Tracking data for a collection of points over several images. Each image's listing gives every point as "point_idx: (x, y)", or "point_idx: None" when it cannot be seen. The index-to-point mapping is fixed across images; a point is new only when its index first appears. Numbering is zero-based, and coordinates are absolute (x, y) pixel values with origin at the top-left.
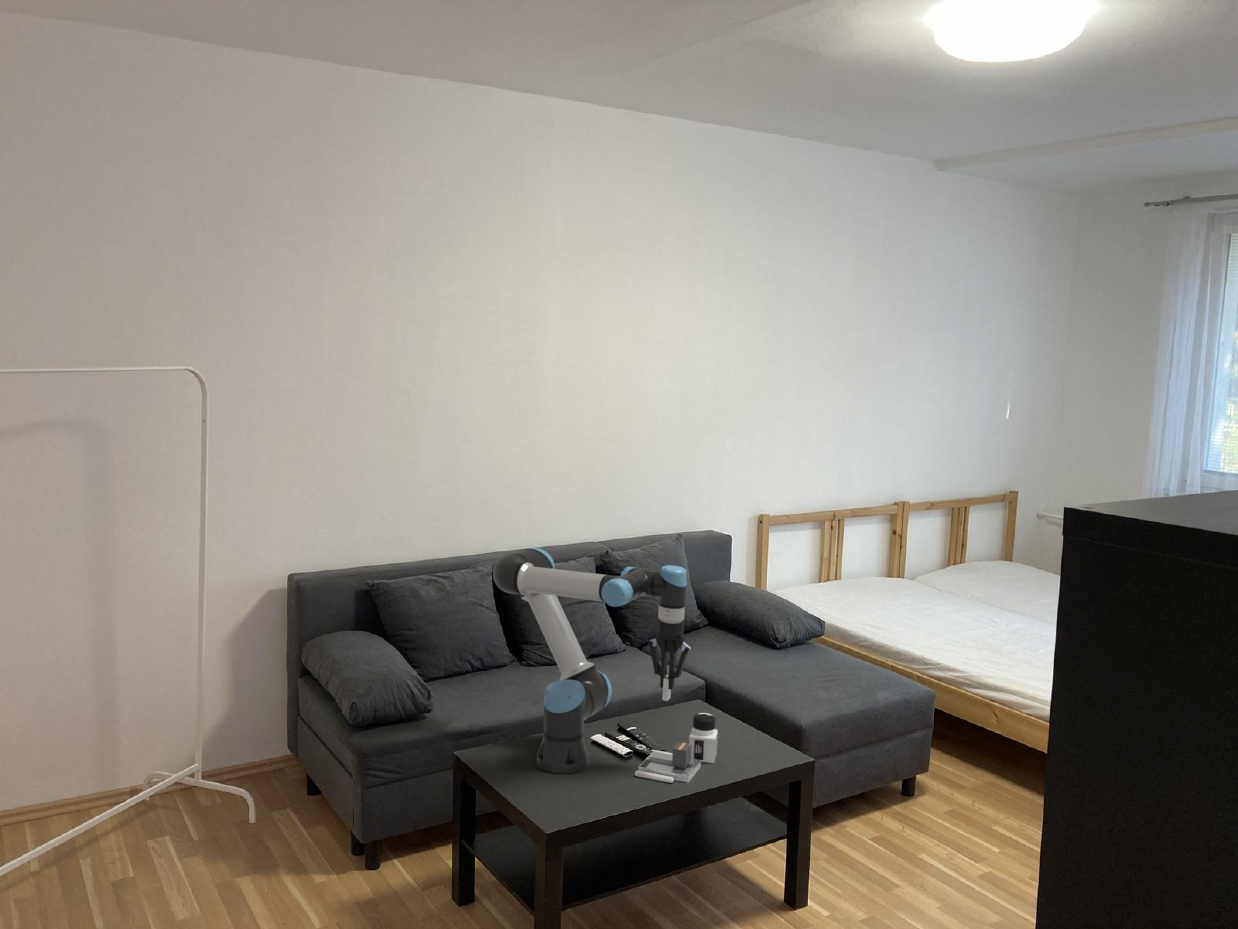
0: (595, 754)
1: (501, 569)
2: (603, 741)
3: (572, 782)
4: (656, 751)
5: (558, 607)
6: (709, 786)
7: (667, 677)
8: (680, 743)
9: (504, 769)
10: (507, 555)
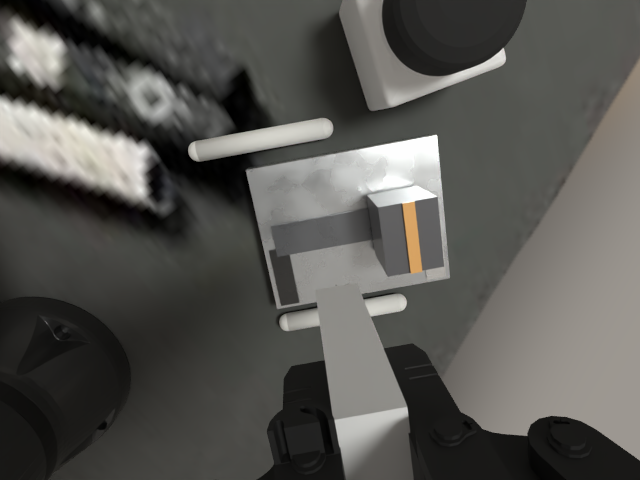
0: (74, 256)
1: None
2: (8, 139)
3: (162, 446)
4: (250, 147)
5: None
6: (508, 253)
7: (379, 472)
8: (391, 210)
9: None
10: None
